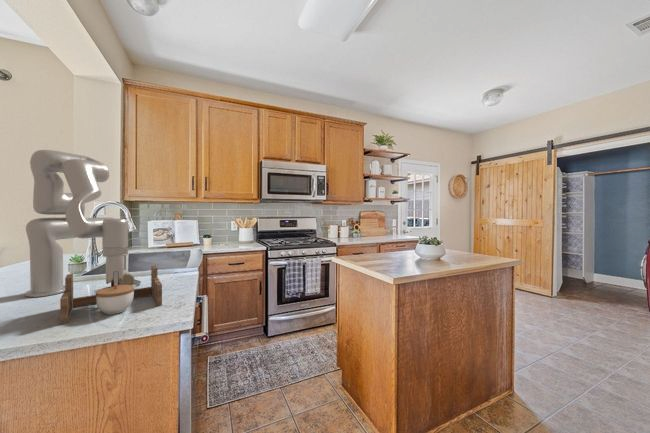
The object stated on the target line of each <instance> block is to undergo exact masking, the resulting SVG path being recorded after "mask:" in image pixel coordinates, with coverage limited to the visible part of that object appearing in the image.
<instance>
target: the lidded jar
mask: <svg viewBox="0 0 650 433" xmlns="http://www.w3.org/2000/svg"><path fill="white" fill-rule="evenodd" d="M134 289H135V286H134V285H118V286H117V284H115V285H114V286H111V285H110V286H107V287H103V288H100V289H97V290H96V291H95V294H94V295H96V302H97V304H96V306H97V308H98V309H99V310H100V311H101V312H102V313H104V314H105V315H115V314H119V313H123V312H125V311H126V310H127V309H128V308H129V307H130V306H131V304H132V303H133V301H134V298H135V297H134Z"/></svg>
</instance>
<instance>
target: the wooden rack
mask: <svg viewBox="0 0 650 433" xmlns="http://www.w3.org/2000/svg"><path fill="white" fill-rule="evenodd" d="M150 267H151V268H150V272H151V273H150V280H151V281H150V283H151V284H150V285H151V286H146V287H141V288H134V298H139V297H145V296H152V298H153V300H154V303H155V305H156V307H160V306H163V284H162V282H161V280H160V279H159V278H158V266H156V265H151V266H150ZM64 286H65V291H64V292H62V295H61V297H60V299H59V302H60V303H59V304H60V306H59V307H60V312H59V313H60V314H59V315H60V325H65V324H68V322H69V321H70V320H69V319H70V317H71V314H72V311H73V308H79V307H86V306H91V305H97V302H96V295H95V294H93V295H86V296H81V297H80V296H79V297H74V274H73V273H69V274H66V276H65V278H64Z"/></svg>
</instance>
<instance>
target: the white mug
mask: <svg viewBox="0 0 650 433" xmlns="http://www.w3.org/2000/svg"><path fill="white" fill-rule="evenodd" d="M141 283H142V281H141V280H138V279H135V276H134V275H133V274H132V273H131V272H130V271H128V270H126V269H124V275H123V281H122V282H121V283H120V285H132V286H134V285H135V286H140V285H141Z"/></svg>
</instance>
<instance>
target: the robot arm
mask: <svg viewBox="0 0 650 433" xmlns="http://www.w3.org/2000/svg"><path fill="white" fill-rule="evenodd" d="M29 164H30V170H31V173H32V177H33V194H32V195H33V196H32V207H33V210H34V212H35V213H37V214H39V215H45V216H46V215H47V216H49V215H53V216H54V215H55V216H56V215H58V216H59V215H65V216H64V217H38V218H33V219H31V220H30V221H28V222H27V224H26V225H25V233H26V236H27V240H28V244H29V270H30V271H29V272H30V275H29V277H30V284H29V285H30V286H29V287H30V289H29V290H27V291H26V292H24V296H25V297H27V298H39V297H41V298H42V297H46V296H53V295H58V294H63V293H64V291H65V285H64V251H63V248H62V246H61V245H60V244H59V243H58V242H57V240H68V239H70V240H71V239H75V238H78V239H83V240H84V239H94V238H102V239H101V240H102V241H101V243H102V250H101V251H102V257H104V258H105V283H106V284H107V285H109V284H110V286H114V285H115V284H117V286H118V285H120V283H121V282H122V281H123V275H124V270H125V256H127V255H129V223H128V220H127V219H125V218H114V217H85V210H86V204H88V203H90V202H93V201H96V200H98V198H100V197H101V196H102V190H101V188H100V185H99V183H105V182H107V181H108V180H109V178H110V171H109V168H108V166H106V164H104V163H103V162H101V161H99V160H96V159H94V158H91V157H90V156H85V155H81V154H77V153H76V154H74V153H70V152H64V151H58V150H51V149H39V150H38V149H37V150H36V151H34V152H33V153H32V155H31V157H30V161H29ZM58 173H62V174H63V175H64V177H65V180H66V182H67V185H68V187H69V189H70V192H64V186H65V183H64V180H63V178H62V177H61V176H60V175H59V174H58Z"/></svg>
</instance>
